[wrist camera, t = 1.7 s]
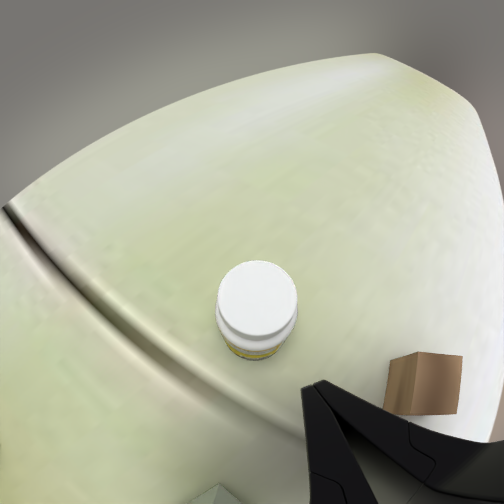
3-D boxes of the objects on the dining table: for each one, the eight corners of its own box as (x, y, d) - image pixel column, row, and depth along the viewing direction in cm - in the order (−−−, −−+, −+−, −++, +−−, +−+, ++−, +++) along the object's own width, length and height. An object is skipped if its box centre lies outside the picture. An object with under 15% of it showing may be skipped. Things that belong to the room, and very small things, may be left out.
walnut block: (431, 364, 20) (462, 356, 16) (424, 414, 18) (456, 413, 14) (389, 360, 20) (418, 351, 16) (381, 413, 18) (409, 415, 14)
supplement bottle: (255, 289, 23) (259, 235, 15) (297, 330, 21) (325, 295, 14) (210, 329, 21) (190, 293, 14) (253, 374, 20) (257, 364, 12)
